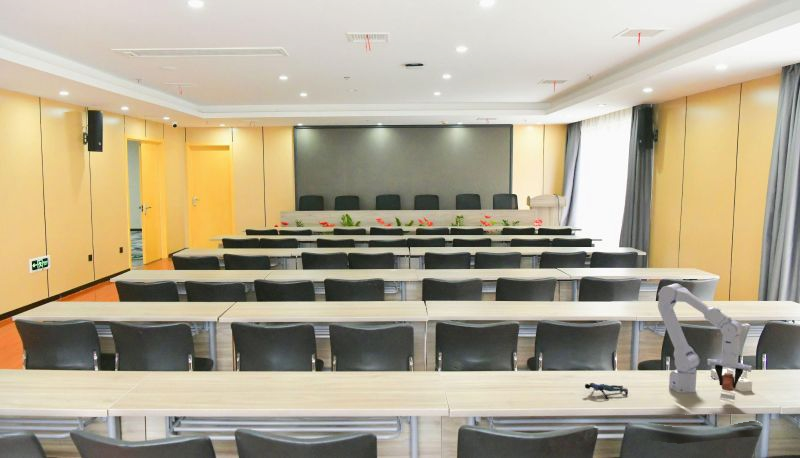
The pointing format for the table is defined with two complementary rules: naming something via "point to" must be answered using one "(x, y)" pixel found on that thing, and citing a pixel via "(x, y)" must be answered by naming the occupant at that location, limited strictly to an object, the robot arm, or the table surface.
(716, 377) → the bracket
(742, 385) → the die
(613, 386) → the person figurine
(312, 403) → the table surface
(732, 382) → the pawn
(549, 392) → the table surface
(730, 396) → the board
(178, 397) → the table surface
